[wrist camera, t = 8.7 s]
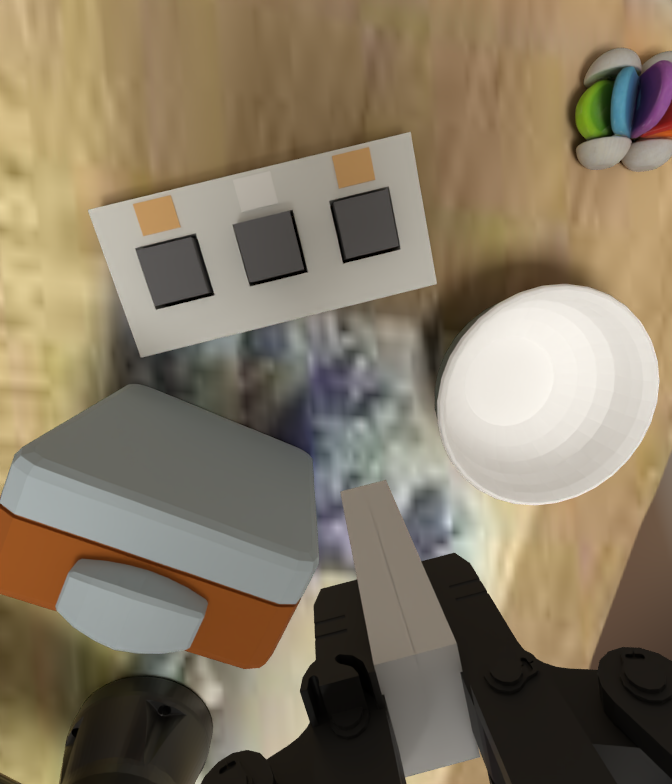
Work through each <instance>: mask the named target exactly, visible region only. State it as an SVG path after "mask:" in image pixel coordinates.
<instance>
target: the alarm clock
mask: <svg viewBox="0 0 672 784" xmlns="http://www.w3.org/2000/svg"><path fill="white" fill-rule="evenodd" d="M318 565H319V549H318V534H317V519H316V505H315V491H314V475H313V461H312V458H311V457H310V455H309V454H308V453H306V452H305V451H303V450H301V449H299V448H297V447H295V446H292V445H290V444H287V443H285V442H283V441H280V440H278V439H275V438H273V437H271V436H268V435H266V434H263V433H261V432H258V431H256V430H253V429H251V428H248V427H246V426H243V425H241V424H238V423H236V422H234V421H231V420H229V419H226V418H224V417H221V416H219V415H216V414H214V413H212V412H209V411H207V410H204V409H202V408H199V407H197V406H195V405H192V404H190V403H187V402H185V401H183V400H180V399H178V398H175V397H173V396H170V395H168V394H165V393H163V392H160V391H158V390H155V389H153V388H150V387H148V386H144V385H140V384H128V385H126V386H125V387H123V388H121V389H120V390H118V391H116V392H115V393H113V394H111V395H110V396H108V397H106V398H105V399H103V400H101V401H99V402H98V403H96V404H94V405H93V406H91V407H89V408H88V409H86V410H84V411H83V412H81V413H79V414H78V415H76V416H74V417H72V418H71V419H69V420H67V421H66V422H64V423H62V424H61V425H59V426H57V427H55V428H54V429H52V430H50V431H49V432H47V433H45V434H44V435H42V436H40V437H39V438H37V439H35V440H34V441H32V442H30V443H29V444H27V445H25V446H23V447H22V448H21V449H20V450H19V451H18V452H17V453H16V454H15V455H14V458H13V461H12V464H11V467H10V470H9V473H8V476H7V479H6V482H5V485H4V488H3V491H2V495H1V497H0V594H2V595H6V596H9V597H12V598H15V599H19V600H22V601H25V602H28V603H32V604H35V605H38V606H41V607H45V608H48V609H51V610H54V611H58V612H59V613H60V614H61V615H62V616H63V617H64V618H65V619H66V620H67V621H68V622H69V623H70V624H71V625H72V626H73V627H74V628H75V629H77V630H78V631H80V632H81V633H83V634H85V635H86V636H88V637H89V638H91V639H92V640H94V641H96V642H98V643H100V644H102V645H105V646H107V647H109V648H111V649H113V650H118V651H125V652H131V653H147V654H163V653H170V652H177V651H183V650H184V651H188V652H191V653H194V654H197V655H201V656H204V657H207V658H210V659H214V660H217V661H220V662H223V663H227V664H230V665H233V666H236V667H240V668H243V669H250V668H260V667H261V666H263V665H264V664H265V663H266V662H267V661H268V659H269V658H270V657H271V655H272V654H273V652H274V650H275V648H276V646H277V644H278V642H279V641H280V639H281V637H282V635H283V633H284V631H285V629H286V627H287V625H288V623H289V621H290V619H291V617H292V615H293V613H294V611H295V609H296V607H297V606H298V604H299V602H300V600H301V597H302V596H303V594H304V592H305V590H306V588H307V586H308V584H309V582H310V580H311V578H312V576H313V574H314V573H315V571H316V569H317V567H318Z"/></svg>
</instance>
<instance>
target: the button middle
mask: <svg viewBox="0 0 672 784" xmlns="http://www.w3.org/2000/svg"><path fill="white" fill-rule="evenodd" d="M233 225H234V228H235V232H236V235H237V239H238V243H239V246H240V250H241V253H242V257H243V260H244V264H245V267H246V271H247V275H248V278H249V282H257V281H261V280H265V279H269V278H273V277H277V276H281V275H285V274H289V273H293V272H297V271H301V270H304V267H303V263H302V259H301V255H300V251H299V247H298V243H297V239H296V235H295V231H294V227H293V223H292V219H291V215H290V211H285V212H281V213H277V214H273V215H269V216H265V217H261V218H257V219H253V220H249V221H244V222H240V223H236V224H233Z"/></svg>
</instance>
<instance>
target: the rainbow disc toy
mask: <svg viewBox="0 0 672 784" xmlns="http://www.w3.org/2000/svg"><path fill="white" fill-rule="evenodd" d="M584 85H585V86H586V87H587V88H588V89H587V90H586V91H585V92H584V93H583V95H582V96H581V98H580V99H579V101H578V104H577V106H576V111H575V121H576V126H577V128H578V130H579V132H580V133H581V135H582V136H583V137H584V138H585V139H586V140H588V141H586V142H584V143H582V144H580V145H579V146H578V147H577V148H576V154H577V158H578V160H579V162H580V163H581V164H582V165H583V166H584V167H586V168H588V169H591V170H600V169H606V168H610V167H612V166H614V165H616V164H617V163H618V162H620V161H622V163H623V165H624V166H625V167H626V168H628V169H629V170H631V171H637V172H640V171H649V170H653V169H656V168H658V167H660V166H661V165H663V164H664V163H665V162H667V161H668V160H669V159H670V157H671V156H672V51H667V52H662V53H659V54H657V55H655V56H653V57H652V58H650V59H649V60H647V61H646V62H645V63H644V64H643V65H642V64H641V61H640V58H639V56H638V55H637V54H636V53H635V52H634V51H632V50H630V49H627V48H616V49H612V50H610V51H607V52H605V53H604V54H602V55H601V56H600V57H599V58H597V59H596V60H595V61H594V62H593V64H592V65H591V66H590V68H589V69H588V71H587V73H586V76H585V79H584Z"/></svg>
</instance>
